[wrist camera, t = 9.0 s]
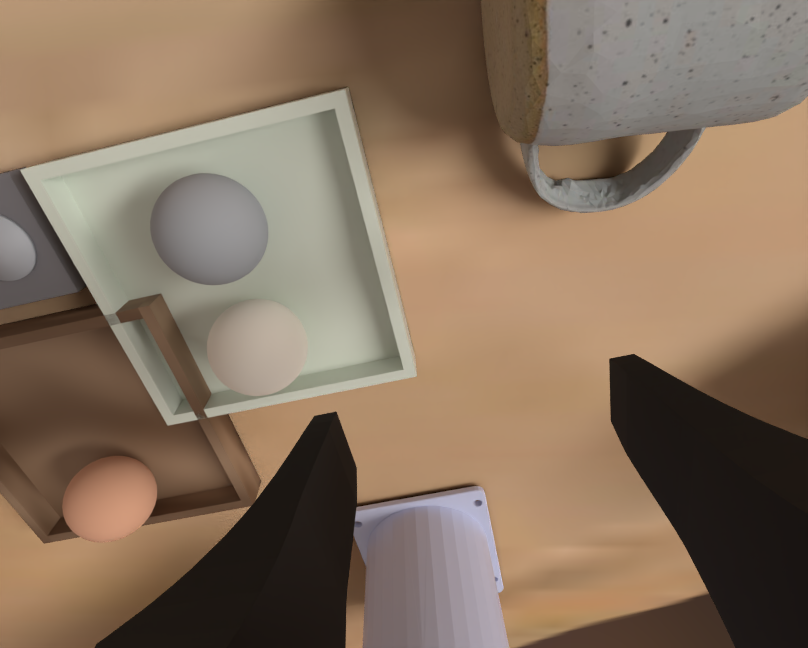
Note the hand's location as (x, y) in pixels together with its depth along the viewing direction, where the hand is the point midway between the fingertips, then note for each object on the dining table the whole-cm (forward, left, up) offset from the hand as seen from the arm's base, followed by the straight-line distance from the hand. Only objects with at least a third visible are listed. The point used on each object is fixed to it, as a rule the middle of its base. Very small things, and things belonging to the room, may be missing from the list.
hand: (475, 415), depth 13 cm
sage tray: (+2, +8, -10) cm, 13 cm away
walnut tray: (-4, +18, -10) cm, 21 cm away
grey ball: (+5, +8, -9) cm, 13 cm away
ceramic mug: (+7, -7, -10) cm, 14 cm away
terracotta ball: (-7, +18, -9) cm, 21 cm away
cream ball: (0, +8, -9) cm, 12 cm away
